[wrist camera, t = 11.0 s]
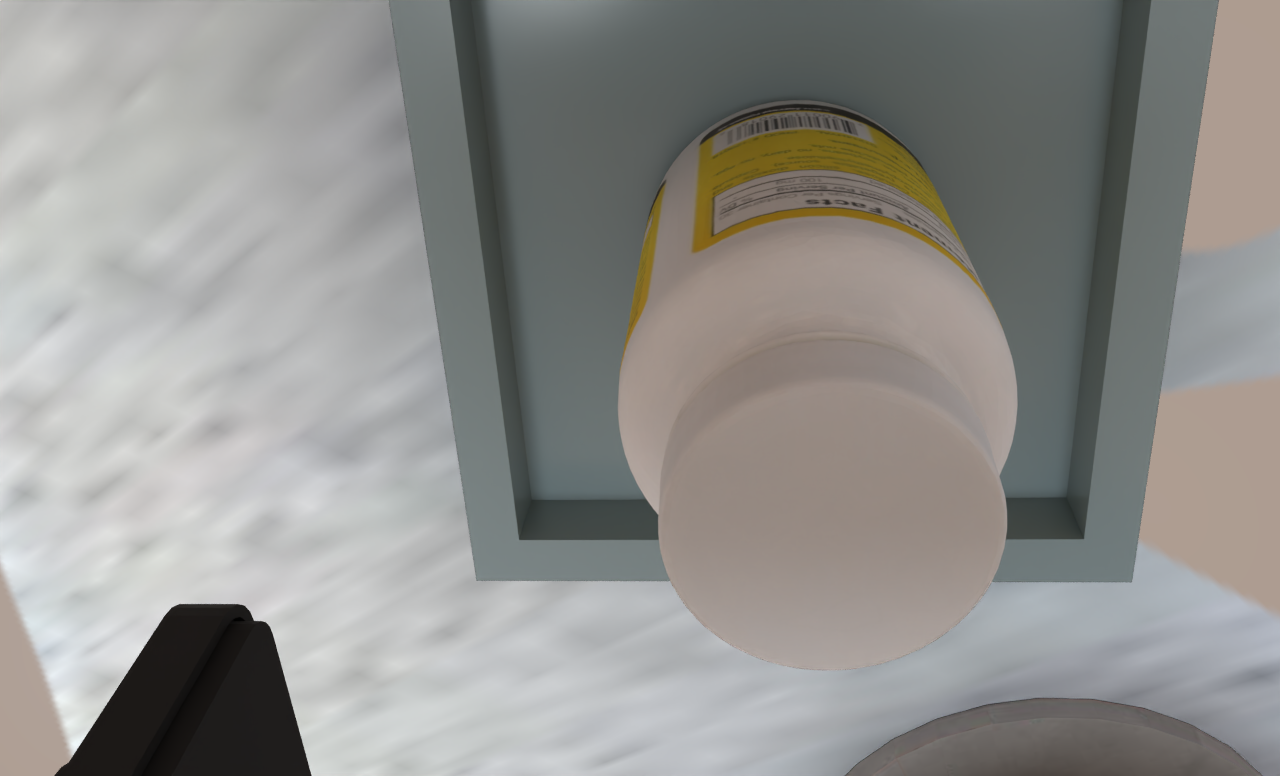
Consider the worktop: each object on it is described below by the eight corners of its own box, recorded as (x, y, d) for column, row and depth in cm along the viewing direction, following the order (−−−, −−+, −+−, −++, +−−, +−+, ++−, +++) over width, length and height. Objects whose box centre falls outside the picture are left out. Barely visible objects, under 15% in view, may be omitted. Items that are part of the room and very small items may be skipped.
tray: (414, -110, 21) (374, -96, 19) (1187, -158, 20) (1241, -148, 18) (499, 514, 27) (476, 580, 25) (1100, 511, 26) (1131, 581, 23)
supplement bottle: (788, 419, 24) (812, 786, 15) (588, 238, 23) (492, 532, 14) (1004, 237, 22) (1172, 544, 13) (800, 27, 21) (839, 217, 12)
